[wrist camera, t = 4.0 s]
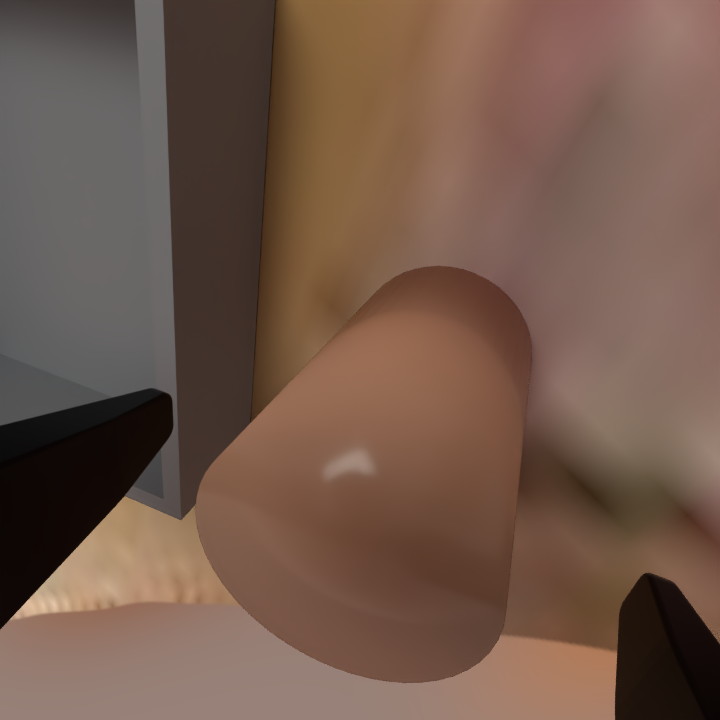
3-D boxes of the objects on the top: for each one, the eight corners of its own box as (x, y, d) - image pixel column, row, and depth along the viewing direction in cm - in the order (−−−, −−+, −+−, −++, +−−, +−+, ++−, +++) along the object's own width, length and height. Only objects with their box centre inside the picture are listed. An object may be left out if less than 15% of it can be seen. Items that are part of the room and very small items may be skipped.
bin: (276, -26, 11) (160, -79, 8) (249, 444, 19) (181, 519, 15) (-109, -83, 14) (-317, -141, 11) (-3, 348, 21) (-108, 395, 18)
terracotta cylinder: (559, 295, 12) (561, 518, 6) (500, 447, 15) (453, 724, 8) (373, 245, 14) (193, 385, 7) (347, 394, 16) (196, 603, 9)
